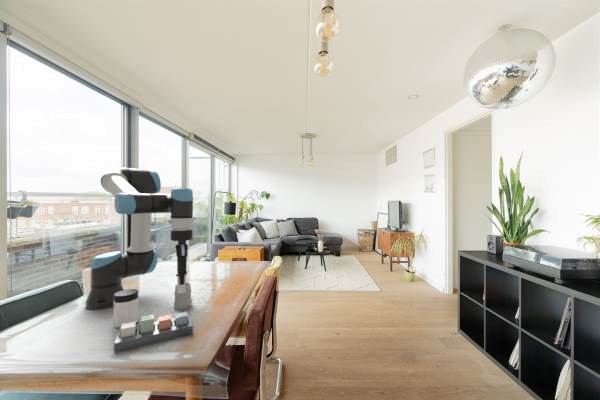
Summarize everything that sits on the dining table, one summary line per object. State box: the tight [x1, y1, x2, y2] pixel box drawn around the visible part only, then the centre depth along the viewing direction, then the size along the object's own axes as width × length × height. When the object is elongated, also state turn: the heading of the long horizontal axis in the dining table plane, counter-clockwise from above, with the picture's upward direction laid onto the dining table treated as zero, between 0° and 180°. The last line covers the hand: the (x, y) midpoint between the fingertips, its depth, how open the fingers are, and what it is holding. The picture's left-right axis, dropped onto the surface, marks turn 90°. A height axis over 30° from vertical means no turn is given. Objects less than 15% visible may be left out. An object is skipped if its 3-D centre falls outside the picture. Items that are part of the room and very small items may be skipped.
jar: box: [112, 288, 140, 329], centre depth 101 cm, size 9×8×12 cm
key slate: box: [174, 311, 189, 326], centre depth 95 cm, size 4×4×4 cm
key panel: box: [113, 314, 194, 354], centre depth 91 cm, size 11×23×3 cm, turn 119°
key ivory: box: [120, 322, 137, 338], centre depth 87 cm, size 4×4×4 cm
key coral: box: [158, 314, 172, 329], centre depth 92 cm, size 4×4×4 cm
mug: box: [173, 282, 193, 310], centre depth 119 cm, size 8×12×12 cm, turn 26°
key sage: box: [139, 314, 155, 334], centre depth 90 cm, size 4×4×4 cm
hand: (181, 292), depth 95 cm, fingers closed
